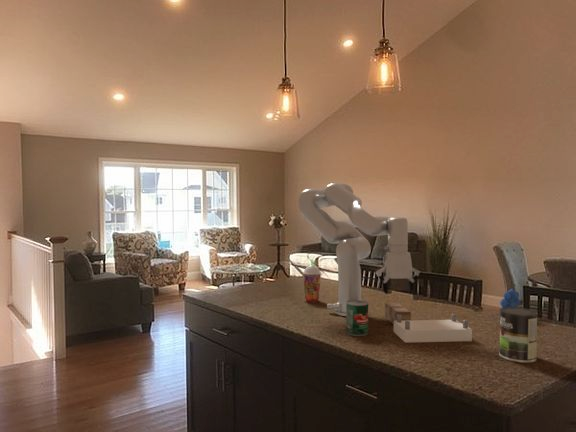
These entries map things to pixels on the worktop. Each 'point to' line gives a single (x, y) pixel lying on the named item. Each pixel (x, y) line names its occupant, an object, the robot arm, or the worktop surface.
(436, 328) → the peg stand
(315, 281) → the smoothie
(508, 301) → the grapes
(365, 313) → the canned tomato
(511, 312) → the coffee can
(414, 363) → the worktop surface
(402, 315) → the brown wooden block
